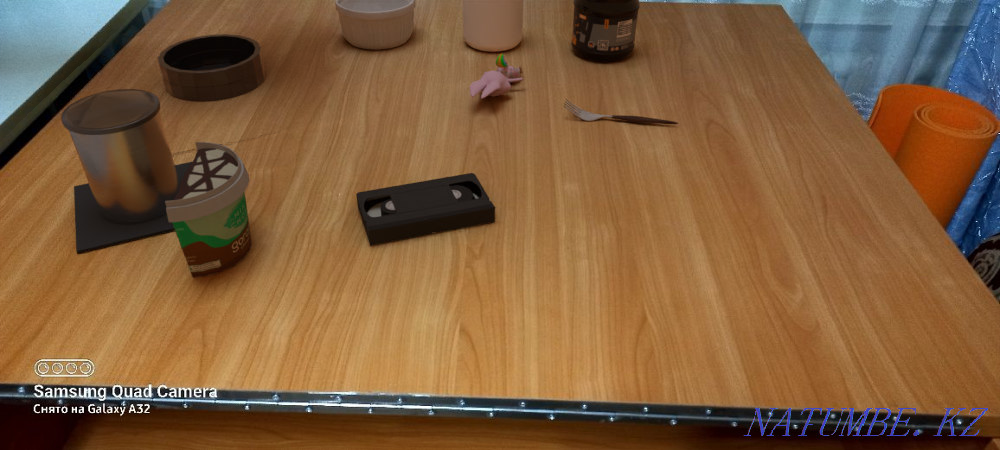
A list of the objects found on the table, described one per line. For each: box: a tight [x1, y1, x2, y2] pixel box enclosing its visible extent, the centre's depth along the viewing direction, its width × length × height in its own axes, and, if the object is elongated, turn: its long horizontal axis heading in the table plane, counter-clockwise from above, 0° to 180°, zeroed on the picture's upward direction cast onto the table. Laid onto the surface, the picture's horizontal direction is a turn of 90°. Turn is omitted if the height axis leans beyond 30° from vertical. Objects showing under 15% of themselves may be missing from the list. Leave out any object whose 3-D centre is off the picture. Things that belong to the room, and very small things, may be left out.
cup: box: [462, 0, 524, 53], centre depth 124 cm, size 10×10×10 cm
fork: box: [563, 98, 679, 125], centre depth 103 cm, size 3×16×2 cm, turn 78°
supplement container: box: [570, 0, 641, 63], centre depth 120 cm, size 10×10×12 cm
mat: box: [73, 161, 193, 255], centre depth 86 cm, size 14×14×1 cm
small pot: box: [60, 88, 180, 224], centre depth 82 cm, size 10×10×12 cm
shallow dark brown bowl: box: [157, 33, 267, 103], centre depth 111 cm, size 14×14×5 cm
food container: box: [165, 141, 253, 278], centre depth 77 cm, size 12×6×10 cm, turn 5°
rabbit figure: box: [469, 53, 524, 99], centre depth 109 cm, size 6×6×15 cm
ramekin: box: [334, 0, 417, 51], centre depth 126 cm, size 13×13×7 cm
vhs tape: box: [355, 172, 496, 247], centre depth 84 cm, size 14×8×2 cm, turn 109°
